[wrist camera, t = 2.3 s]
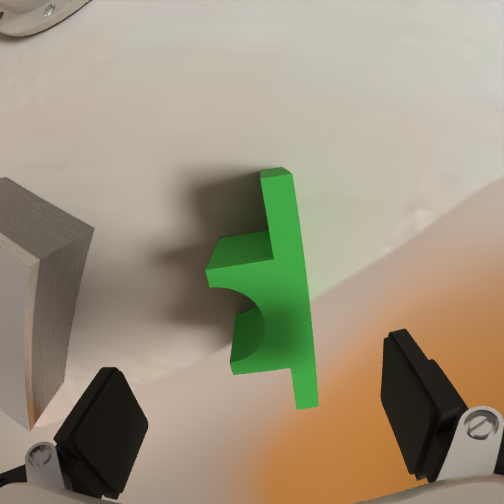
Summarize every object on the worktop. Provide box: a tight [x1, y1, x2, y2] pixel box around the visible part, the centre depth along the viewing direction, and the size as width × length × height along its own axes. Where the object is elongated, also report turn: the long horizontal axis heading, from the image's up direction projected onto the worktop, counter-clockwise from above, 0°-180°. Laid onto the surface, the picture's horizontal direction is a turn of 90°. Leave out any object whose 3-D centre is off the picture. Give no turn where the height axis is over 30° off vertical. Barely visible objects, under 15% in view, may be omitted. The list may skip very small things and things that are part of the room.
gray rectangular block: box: [0, 177, 94, 431], centre depth 14 cm, size 14×8×6 cm, turn 153°
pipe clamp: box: [205, 167, 318, 410], centre depth 14 cm, size 11×4×5 cm, turn 10°
